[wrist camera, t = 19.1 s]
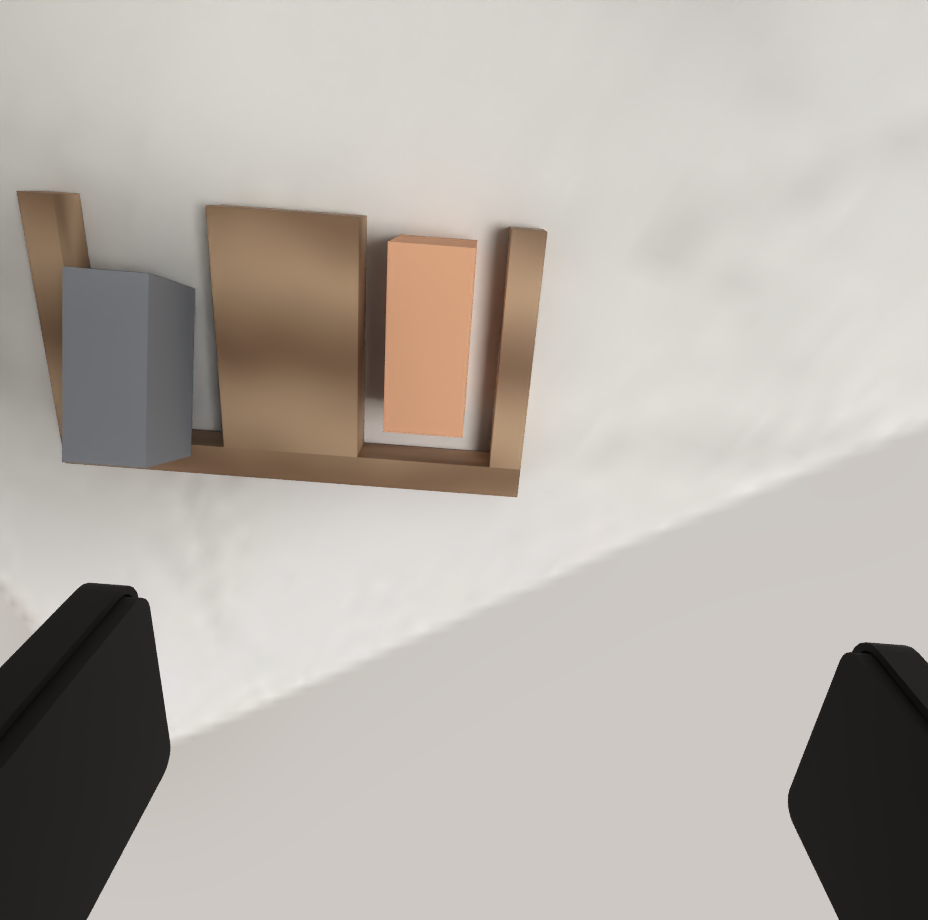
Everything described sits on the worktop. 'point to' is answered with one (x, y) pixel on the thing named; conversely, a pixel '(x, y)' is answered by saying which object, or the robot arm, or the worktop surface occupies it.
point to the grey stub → (126, 368)
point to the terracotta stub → (427, 334)
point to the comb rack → (304, 349)
